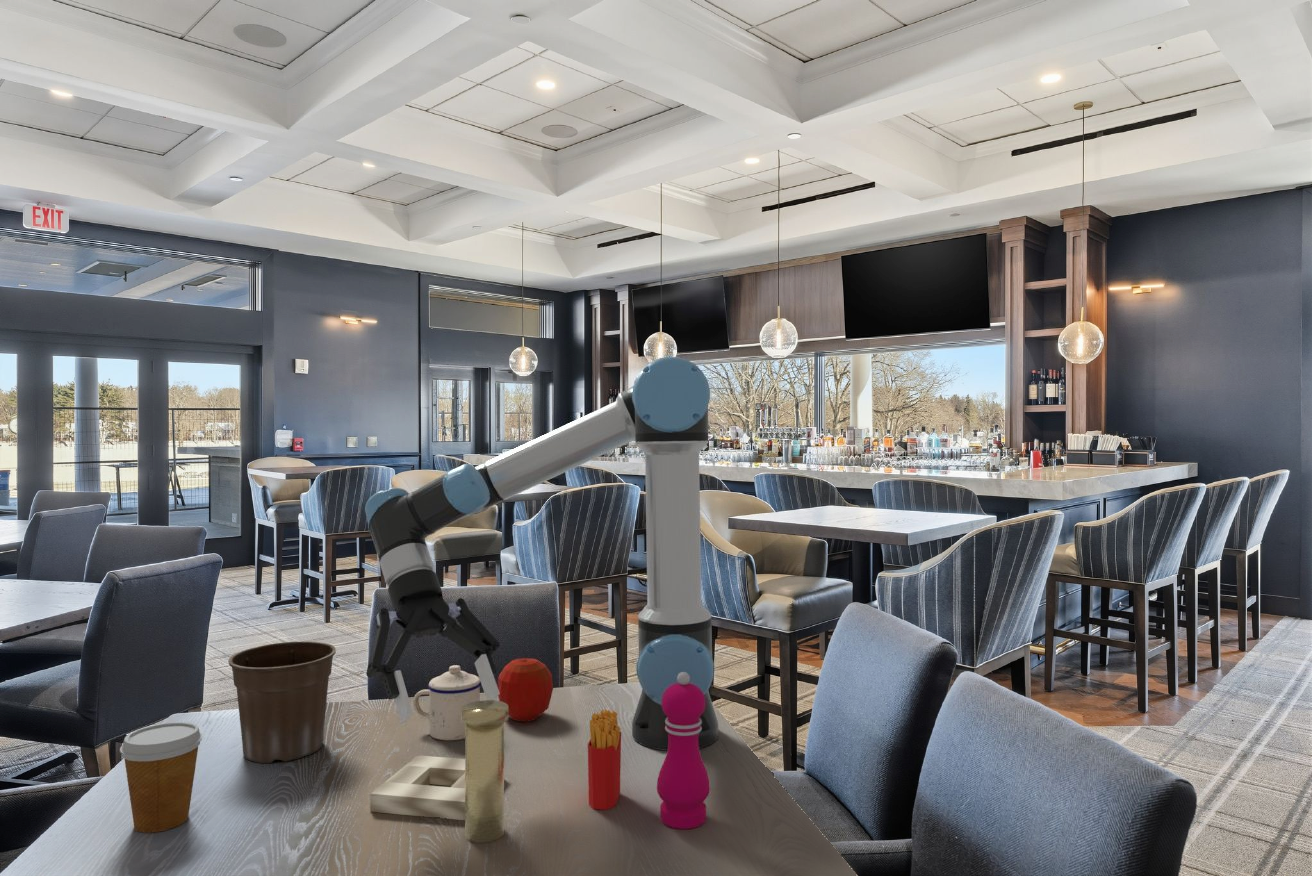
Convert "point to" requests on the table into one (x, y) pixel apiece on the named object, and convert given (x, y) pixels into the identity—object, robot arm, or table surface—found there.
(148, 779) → the disposable coffee cup
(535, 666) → the apple
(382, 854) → the table surface
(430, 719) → the teacup with lid
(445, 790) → the socket block
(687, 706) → the pepper mill
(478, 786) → the gold stepped cylinder
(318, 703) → the plant pot
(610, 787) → the french fries
